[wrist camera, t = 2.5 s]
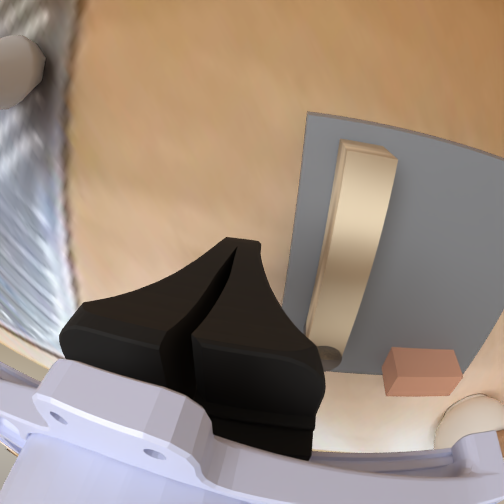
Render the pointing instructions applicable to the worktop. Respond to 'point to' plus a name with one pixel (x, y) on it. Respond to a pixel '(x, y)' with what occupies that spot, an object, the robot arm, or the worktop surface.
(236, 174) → the worktop surface
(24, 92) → the salt shaker
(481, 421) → the lidded jar
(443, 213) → the stool seat
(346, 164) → the stool leg
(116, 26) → the worktop surface
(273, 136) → the worktop surface
